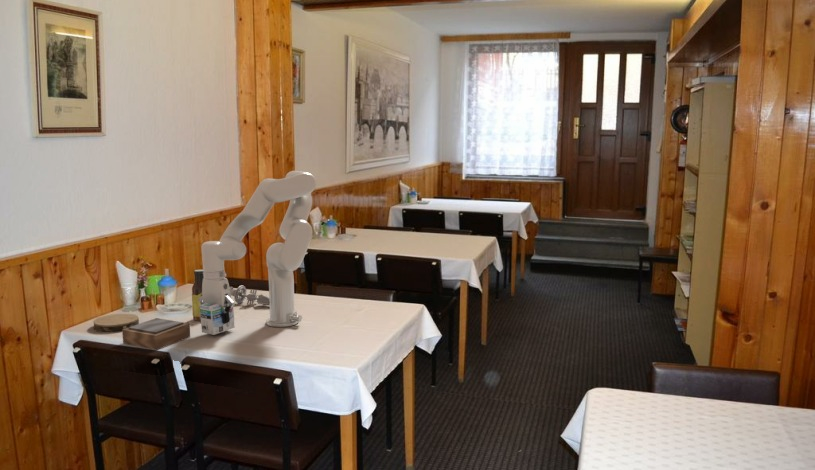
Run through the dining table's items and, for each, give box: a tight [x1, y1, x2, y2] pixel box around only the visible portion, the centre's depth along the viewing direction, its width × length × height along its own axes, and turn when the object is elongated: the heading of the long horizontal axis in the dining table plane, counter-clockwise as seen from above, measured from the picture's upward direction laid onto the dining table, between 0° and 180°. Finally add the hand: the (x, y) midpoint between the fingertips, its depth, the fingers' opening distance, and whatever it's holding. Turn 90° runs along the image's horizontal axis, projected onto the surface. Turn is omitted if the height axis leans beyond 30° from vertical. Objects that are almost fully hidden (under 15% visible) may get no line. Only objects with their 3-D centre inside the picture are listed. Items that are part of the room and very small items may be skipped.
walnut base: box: [121, 317, 191, 351], centre depth 240 cm, size 16×16×6 cm
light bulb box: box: [200, 303, 236, 336], centre depth 247 cm, size 11×7×11 cm, turn 148°
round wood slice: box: [93, 313, 140, 333], centre depth 257 cm, size 16×16×3 cm
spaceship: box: [229, 285, 270, 306], centre depth 290 cm, size 8×35×8 cm
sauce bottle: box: [191, 269, 204, 322], centre depth 264 cm, size 7×6×20 cm
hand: (217, 321), depth 247 cm, fingers closed on light bulb box, 7 cm apart
